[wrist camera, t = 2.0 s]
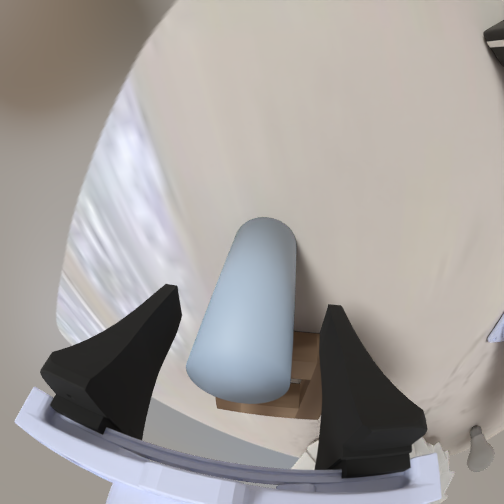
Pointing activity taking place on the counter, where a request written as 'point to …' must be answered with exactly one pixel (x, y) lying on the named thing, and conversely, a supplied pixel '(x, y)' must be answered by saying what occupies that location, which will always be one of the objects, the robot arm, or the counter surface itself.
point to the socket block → (293, 385)
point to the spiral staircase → (418, 449)
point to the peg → (250, 318)
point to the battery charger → (496, 40)
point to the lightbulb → (479, 451)
